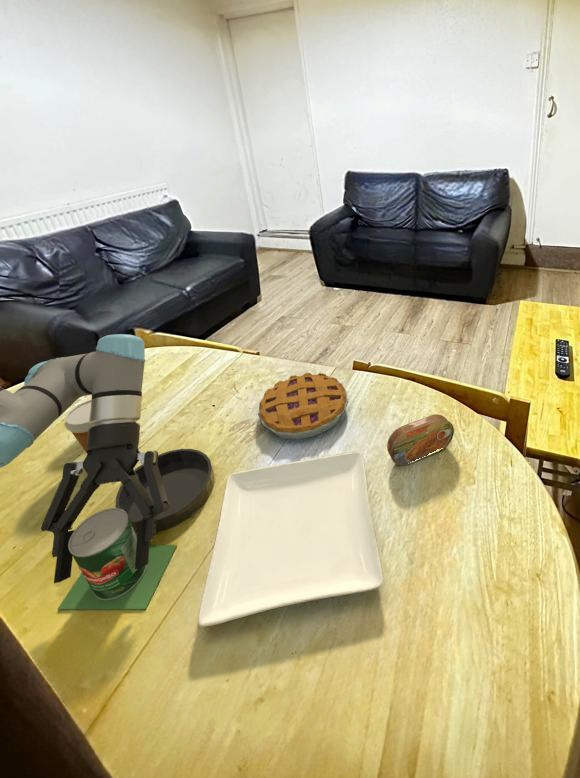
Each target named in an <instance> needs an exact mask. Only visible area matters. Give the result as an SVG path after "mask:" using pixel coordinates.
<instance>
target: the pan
mask: <svg viewBox="0 0 580 778" xmlns="http://www.w3.org/2000/svg"><path fill="white" fill-rule="evenodd" d="M212 464H213V463H212V460H211V459H210V458H209V457H208V455H207V454H206V453H204V452H203V451H200V450H198V449H193V448H178V449H173V450H169V451H165V452H163V453H160V454H158V464H157V465H158V468H159V471H160V475H161V478H162V482H163V485H164V488H165V492H166V495H167V498H168V502H169V509H168V510H166V511H164V512H162V513H160V514H159V515H158V516H157V518H156V533H159V532H162V531H166V530H168V529H171V528H173V527H176V526H177V525H179V524H181V523H183V522H184V521H186V520H188V519H189V518H190V517H192V516H193V515H194V514H195V513H196V512H197V511H199V509H200V508H202V506H203V505H204V504H205V503H206V502H207V500H208V499H209V497H210V496H211V493H212V491H213V489H214V485H215V479H216V478H215V472H214V468H213V467H214V466H213V465H212ZM134 470H135V472H136V473H137V475H138V477H139V481H140V482H141V484H142V486H143V487H144V489H145V491H146V492H147V494H148V495H149V497H150V499H151V500H152V502H153V499H152V496H151V492H150V489H149V485H148V482H147V478H146V475H145V471H144V466H143V465H141V464H140V465H139V466H138V467H136V468H134ZM114 504H115V505H114V506H115V507H114V508H119V509H122V510H124V511H125V512H126V513H127V515H128V518H129V520H130V522H131V524H132V527H133V529H134V531H135V533H137V529H138V521H140V520H143V519H142V518H144V517H143V515H142V514H141V512H140V510H139V509H138V507H137V505H136V504H135V502H134V500H133V499H132V497H131V495H130V494H129V492H128V490H127V489H126V487H125V486H124V485H123V484H122V483H121V485H120V486H119V488H118V491H117V493H116V496H115V503H114ZM153 504H154V503H153Z"/></svg>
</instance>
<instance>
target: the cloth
mask: <svg viewBox="0 0 580 778" xmlns="http://www.w3.org/2000/svg"><path fill="white" fill-rule="evenodd" d="M177 547H178V545H177V544H153V545H152V544H149V560H148V564H147V569H146V571H145V574H144V575H143V577H142V579H141V580H140V581H139V582H138V584H137V585H136V586H135V587H134V588H132V589H131V590H130V591H129V592H127V593H126V594H124V595H123V596H121V597H119V598H116V599H113V600H107V601H106V600H100V599H98V598H97V597H95V595H94V593H93V591H92V589H91V588H90V586H89V584H88V582H87V581H86V579H85V577H84V575H83V573H82V572H81V573H79V576H78V577H77V578H76V580H75V581H74V582H73V584H72V586H71V588H70V589H69V591H68V593H67V594H66V595H65V597H64V598H63V600H62V601H61V602H60V604H59V606H58V607H57V610H58V611H147V609H148V607H149V605H150V602H151V600H152V598H153V596H154V594H155V592H156V590H157V588H158V587H159V584H160V582H161V580H162V578H163V576H164V574H165V572H166V570H167V568H168V565H169V563H170V561H171V559H172V557H173V555H174V553H175V551H176V550H177Z"/></svg>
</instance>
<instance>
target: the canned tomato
mask: <svg viewBox="0 0 580 778" xmlns="http://www.w3.org/2000/svg"><path fill="white" fill-rule="evenodd" d="M74 530H75V531H74V532H73V534H72V535H71V537H70V540H69V544H68V547H69V551H70V553H71V554H72V555H73V560H74V561H75V563H76V564H77V566H78V568H79V570H80V571H81V573H83V575H84V577H85V579H86V581H87V582H88V584H89V586H90V588H91V589H92V591H93V593H94V595H95V597H97V598H98V599H100V600H106V601H107V600H113V599H116V598H119V597H121V596H123V595H124V594H126V593H127V592H129V591H130V590H131V589H132V588H134V587H135V586H136V585H137V584H138V582H139V581H140V580H141V579H142V577H143V575H144V574H145V571H146V569H147V565H145V566H143V567H142V568H139V569H135V561H136V545H137V533H136V532H135V531H134V529H133V527H132V524H131V522H130V520H129V518H128V515H127V513H126V512H125V511H124V510H122V509H119V508H116V507H110V508H105V509H102V510H100V511H97V512H96V513H94V514H92V515H90V516H88V517H87V518H86V519H84V520H83V521H82V522H81V523H80V524H79V525H78V526H77V527H76V528H75V529H74Z"/></svg>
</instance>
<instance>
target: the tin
mask: <svg viewBox="0 0 580 778" xmlns="http://www.w3.org/2000/svg"><path fill="white" fill-rule="evenodd" d="M454 434H455V428H454V425H453V423H452V422H451V421H449V419H448V418H447V417H445V416H444V415H442V414H436V413H435V414H430V415H429V416H426V417H423V418H420V419H418V420H415V421H413V422H409V423H407V424H404V425H401V426H400V427H397V428H396V429H395V430H394V431H393V432H392V433H391V434H390V436H389V437H388V440H387V444H386V449H387V453H388V455H389V456H390V459H391V461H392V462H393V463H394V464H395V465H398V466H407V465H406V464H408V463H410V462H412V461H415V460H416V459H419V458H422V457H424V456H427V455H428V454H429V453H432V452H434V451H436V450H437V449H441V448H445V449H447V447H448V446H449V445H450V444H451V442H452V440H453V437H454Z"/></svg>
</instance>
